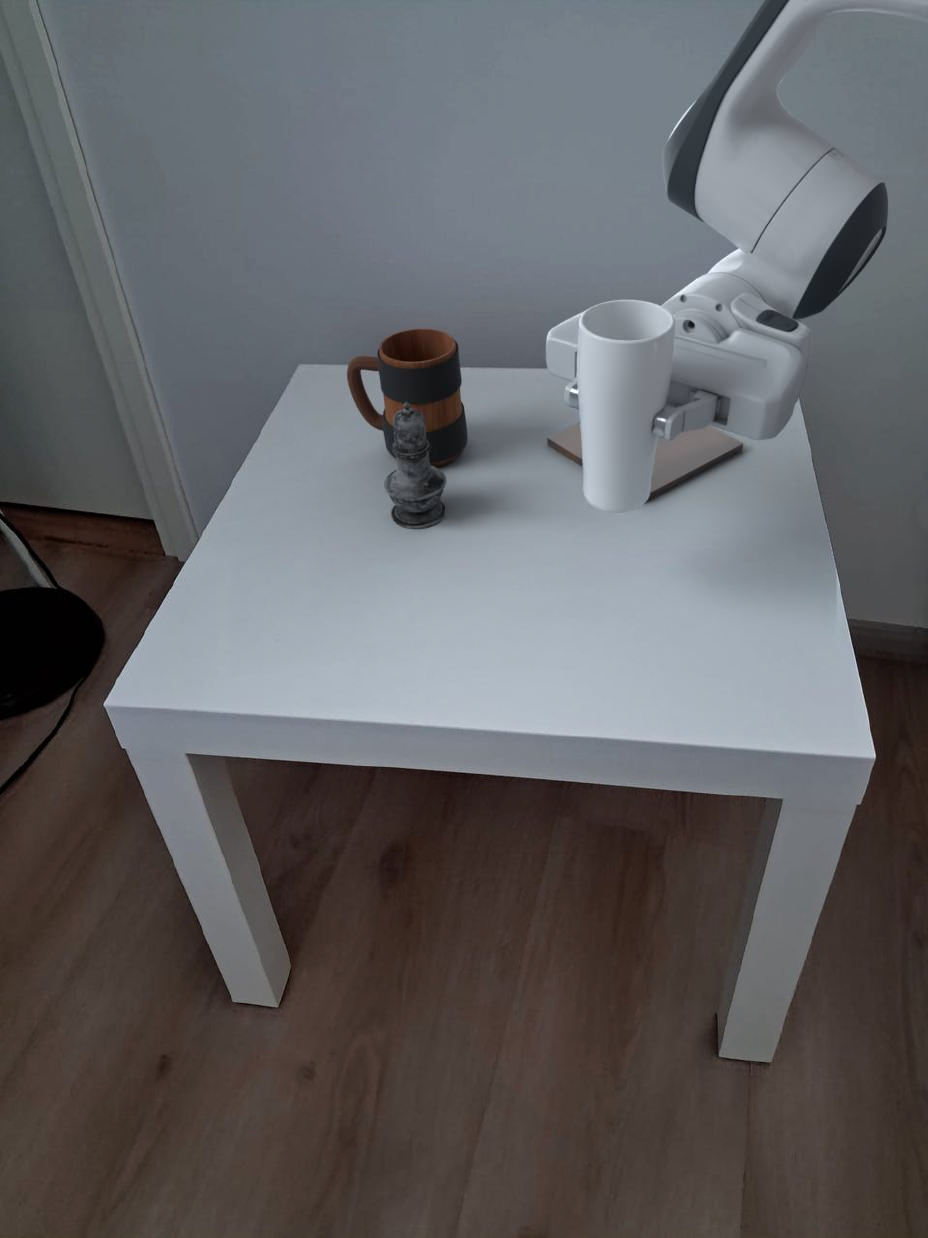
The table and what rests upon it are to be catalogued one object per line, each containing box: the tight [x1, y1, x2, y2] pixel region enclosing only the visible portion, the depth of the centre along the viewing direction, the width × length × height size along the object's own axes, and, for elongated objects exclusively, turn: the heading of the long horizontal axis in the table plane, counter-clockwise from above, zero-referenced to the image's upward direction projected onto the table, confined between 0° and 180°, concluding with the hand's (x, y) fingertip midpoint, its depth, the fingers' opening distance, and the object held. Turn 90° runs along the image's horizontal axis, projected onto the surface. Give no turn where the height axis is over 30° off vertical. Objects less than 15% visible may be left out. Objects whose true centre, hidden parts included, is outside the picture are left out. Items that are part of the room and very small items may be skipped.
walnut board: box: [546, 422, 744, 502], centre depth 96 cm, size 14×14×1 cm
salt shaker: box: [383, 402, 447, 530], centre depth 86 cm, size 6×6×12 cm
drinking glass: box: [577, 299, 675, 514], centre depth 70 cm, size 7×7×15 cm
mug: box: [346, 328, 469, 468], centre depth 95 cm, size 9×12×12 cm
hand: (616, 414), depth 69 cm, fingers closed on drinking glass, 6 cm apart
